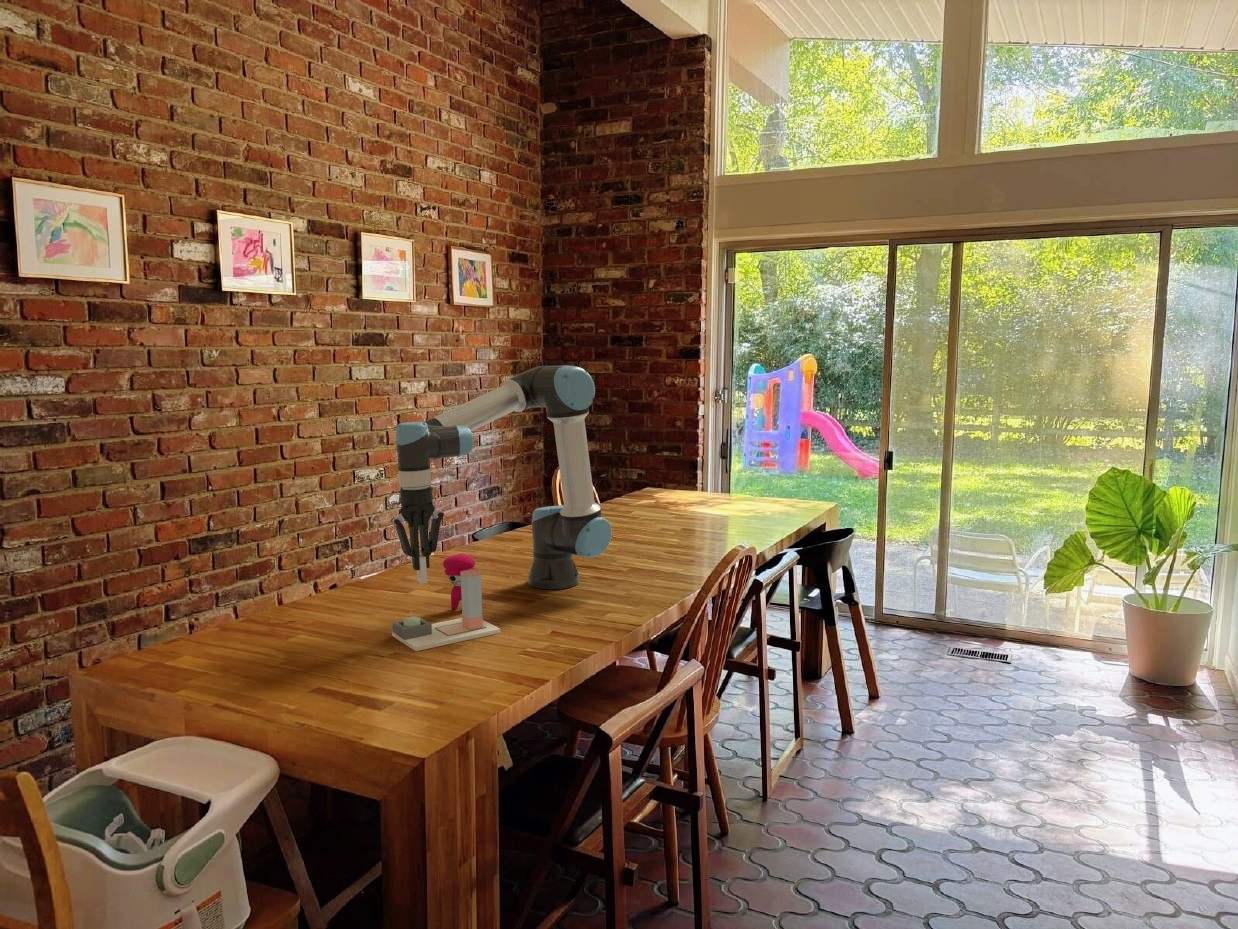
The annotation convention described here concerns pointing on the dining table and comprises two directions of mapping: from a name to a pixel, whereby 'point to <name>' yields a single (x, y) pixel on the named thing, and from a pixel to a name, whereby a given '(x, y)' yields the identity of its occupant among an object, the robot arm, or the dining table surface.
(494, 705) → the dining table surface
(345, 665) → the dining table surface
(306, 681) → the dining table surface
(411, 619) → the button
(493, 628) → the panel
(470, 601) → the grey and pink block
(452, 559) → the toy
